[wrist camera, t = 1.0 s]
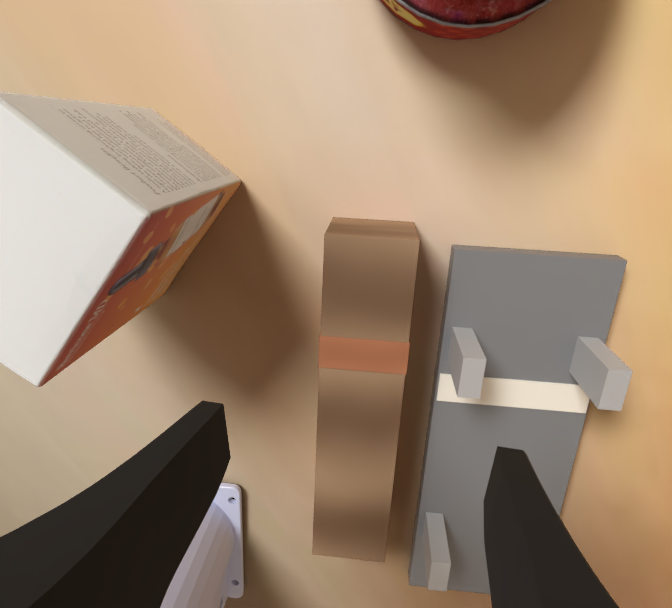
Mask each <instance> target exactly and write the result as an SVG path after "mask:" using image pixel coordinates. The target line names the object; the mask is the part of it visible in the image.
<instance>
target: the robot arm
mask: <svg viewBox="0 0 672 608" xmlns="http://www.w3.org/2000/svg"><path fill="white" fill-rule="evenodd" d="M230 458H231V457H230V450H229V442H228V435H227V427H226V420H225V413H224V405H223V404H220V403H214V402H207V401H202V402H200V403H199V404H198V405H196V406H195V407H194V408H193V409H191V410H190V411H189V412H188V413H187V414H185V415H184V416H183V417H182V418H180V419H179V420H178V421H177V422H176V423H174V424H173V425H172V426H171V427H169V428H168V429H167V430H166V431H165V432H163V433H162V434H161V435H160V436H158V437H157V438H156V439H154V440H153V441H152V442H151V443H149V444H148V445H147V446H146V447H144V448H143V449H142V450H140V451H139V452H138V453H137V454H135V455H134V456H133V457H131V458H130V459H129V460H127V461H126V462H124V463H123V464H122V465H120V466H119V467H118V468H116V469H115V470H113V471H112V472H111V473H109V474H108V475H106V476H105V477H104V478H102V479H101V480H99V481H98V482H96V483H95V484H93V485H92V486H90V487H89V488H87V489H86V490H84V491H82V492H81V493H79V494H78V495H76V496H74V497H73V498H71V499H70V500H68V501H66V502H65V503H63V504H61V505H60V506H58V507H56V508H54V509H53V510H51V511H49V512H47V513H45V514H43V515H42V516H40V517H38V518H36V519H34V520H32V521H31V522H29V523H27V524H25V525H23V526H21V527H20V528H18V529H16V530H14V531H12V532H10V533H8V534H6V535H4V536H2V537H0V608H224V606H225V603H226V600H227V597H230V598H240V597H242V595H243V592H244V567H243V531H242V495H241V488H240V487H239V486H238V485H236V484H229V483H221V482H222V479H223V477H224V474H225V471H226V469H227V466H228V463H229V460H230ZM231 497H233V498H235V499H232V498H231ZM483 502H484V545H485V554H486V562H487V570H488V578H489V585H490V593H491V601H492V608H619V607H618V606H617V604H616V603H615V602H614V600H613V599H612V597H611V596H610V595H609V593H608V592H607V590H606V589H605V588H604V586H603V585H602V583H601V582H600V580H599V579H598V578H597V576H596V575H595V573H594V572H593V570H592V569H591V567H590V566H589V564H588V563H587V561H586V560H585V558H584V557H583V555H582V553H581V552H580V550H579V549H578V547H577V546H576V544H575V542H574V541H573V539H572V538H571V536H570V534H569V532H568V531H567V529H566V527H565V526H564V524H563V522H562V521H561V519H560V517H559V516H558V514H557V512H556V510H555V509H554V507H553V505H552V503H551V501H550V500H549V498H548V496H547V494H546V492H545V490H544V488H543V487H542V485H541V483H540V481H539V479H538V477H537V475H536V473H535V471H534V469H533V467H532V465H531V462H530V460H529V458H528V456H527V454H526V453H525V452H524V451H523V450H519V449H513V448H506V447H500V446H497V450H496V453H495V457H494V461H493V465H492V469H491V473H490V477H489V481H488V485H487V489H486V493H485V497H484V501H483Z"/></svg>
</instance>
